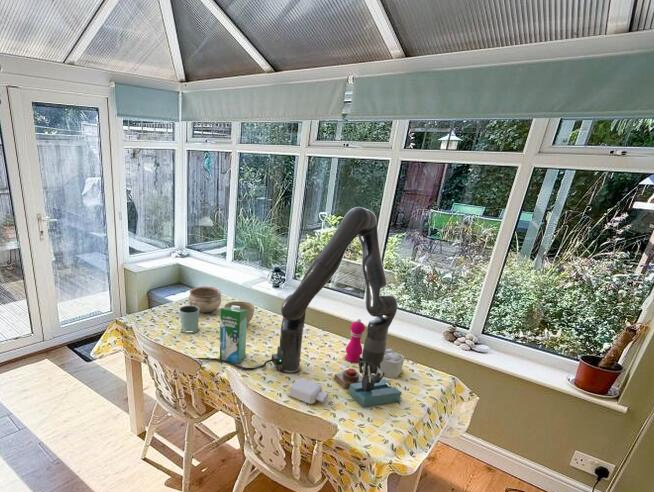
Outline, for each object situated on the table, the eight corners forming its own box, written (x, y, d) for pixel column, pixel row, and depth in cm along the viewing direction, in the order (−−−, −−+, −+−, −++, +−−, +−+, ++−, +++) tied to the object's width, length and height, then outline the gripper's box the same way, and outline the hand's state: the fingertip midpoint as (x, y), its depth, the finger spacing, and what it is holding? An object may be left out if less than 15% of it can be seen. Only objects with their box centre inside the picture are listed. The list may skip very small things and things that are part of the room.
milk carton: (245, 355, 190) (247, 305, 180) (238, 363, 182) (239, 311, 173) (227, 351, 194) (228, 301, 184) (219, 359, 186) (220, 308, 176)
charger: (325, 411, 151) (288, 396, 159) (335, 399, 158) (299, 386, 166) (326, 400, 149) (289, 386, 157) (336, 389, 156) (300, 376, 164)
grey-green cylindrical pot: (203, 329, 216) (203, 307, 212) (191, 335, 208) (191, 314, 204) (187, 324, 221) (187, 303, 217) (176, 331, 213) (175, 309, 209)
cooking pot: (208, 301, 254) (208, 282, 249) (231, 309, 242) (231, 290, 237) (178, 312, 237) (177, 292, 233) (200, 321, 225) (200, 300, 221)
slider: (365, 393, 156) (367, 379, 154) (361, 389, 159) (363, 375, 156) (371, 392, 157) (374, 378, 154) (367, 388, 159) (370, 374, 157)
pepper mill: (361, 363, 184) (368, 322, 176) (345, 361, 185) (351, 321, 178) (360, 356, 191) (366, 316, 183) (343, 354, 192) (349, 315, 184)
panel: (344, 388, 165) (345, 379, 164) (334, 378, 172) (335, 370, 171) (366, 385, 168) (367, 376, 166) (355, 375, 175) (356, 367, 173)
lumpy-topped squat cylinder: (395, 379, 172) (399, 361, 169) (365, 369, 179) (368, 351, 176) (403, 369, 179) (406, 352, 176) (373, 360, 187) (376, 343, 183)
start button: (349, 376, 167) (350, 372, 166) (345, 372, 170) (346, 369, 169) (356, 375, 168) (357, 371, 167) (352, 371, 170) (353, 368, 170)
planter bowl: (234, 317, 232) (235, 299, 228) (259, 324, 223) (260, 305, 219) (217, 326, 220) (218, 307, 216) (243, 334, 211) (244, 314, 207)
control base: (363, 407, 154) (365, 396, 152) (348, 392, 162) (350, 382, 161) (399, 400, 158) (401, 390, 156) (383, 387, 166) (385, 377, 165)
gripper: (354, 340, 156) (348, 379, 162) (377, 357, 143) (369, 399, 150) (371, 338, 158) (365, 377, 164) (395, 355, 145) (387, 396, 152)
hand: (367, 387), depth 157 cm, fingers closed on slider, 3 cm apart
